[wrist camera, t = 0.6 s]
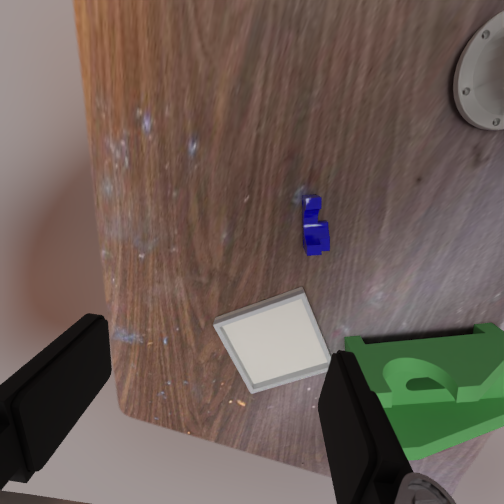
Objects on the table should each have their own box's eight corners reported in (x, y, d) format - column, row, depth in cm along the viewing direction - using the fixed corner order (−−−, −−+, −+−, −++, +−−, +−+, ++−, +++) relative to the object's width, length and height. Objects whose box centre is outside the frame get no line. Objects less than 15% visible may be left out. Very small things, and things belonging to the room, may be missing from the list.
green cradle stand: (346, 393, 49) (371, 462, 37) (343, 335, 44) (371, 393, 33) (479, 382, 46) (548, 452, 35) (489, 321, 42) (572, 378, 31)
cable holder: (325, 245, 39) (332, 253, 35) (303, 247, 39) (307, 255, 36) (325, 193, 37) (332, 196, 33) (301, 195, 37) (305, 198, 33)
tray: (302, 286, 41) (304, 292, 39) (332, 359, 46) (335, 369, 44) (215, 317, 44) (212, 325, 42) (251, 384, 48) (251, 393, 46)
